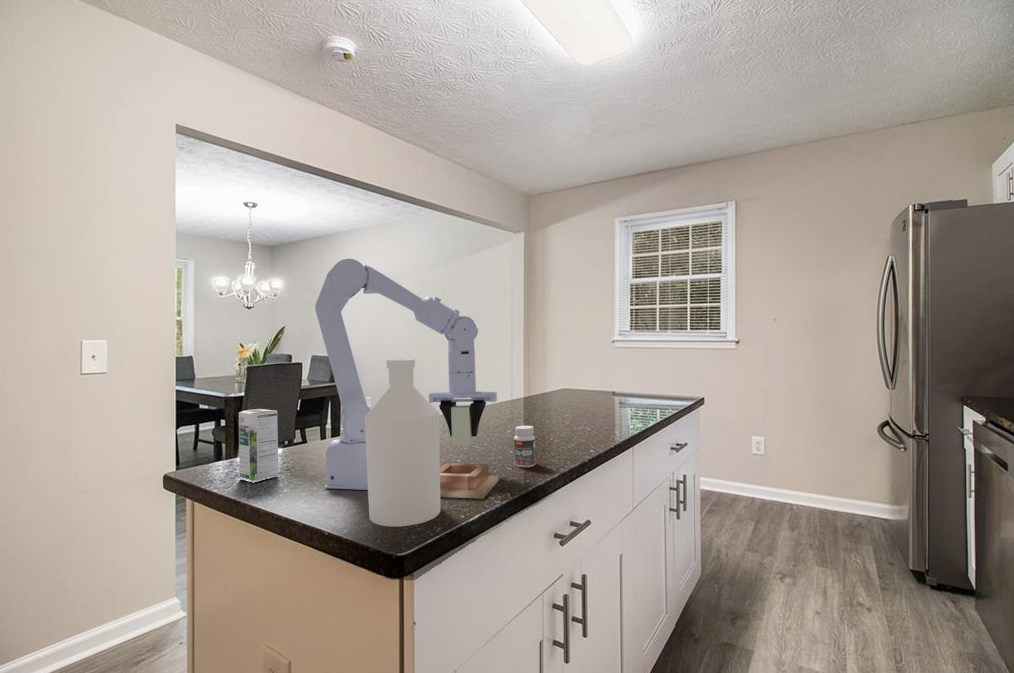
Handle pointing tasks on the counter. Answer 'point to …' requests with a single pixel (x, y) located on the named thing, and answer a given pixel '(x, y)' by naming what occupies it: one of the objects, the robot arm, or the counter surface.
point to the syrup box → (258, 444)
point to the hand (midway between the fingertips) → (463, 435)
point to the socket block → (466, 480)
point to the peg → (462, 425)
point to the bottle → (402, 453)
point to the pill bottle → (524, 447)
